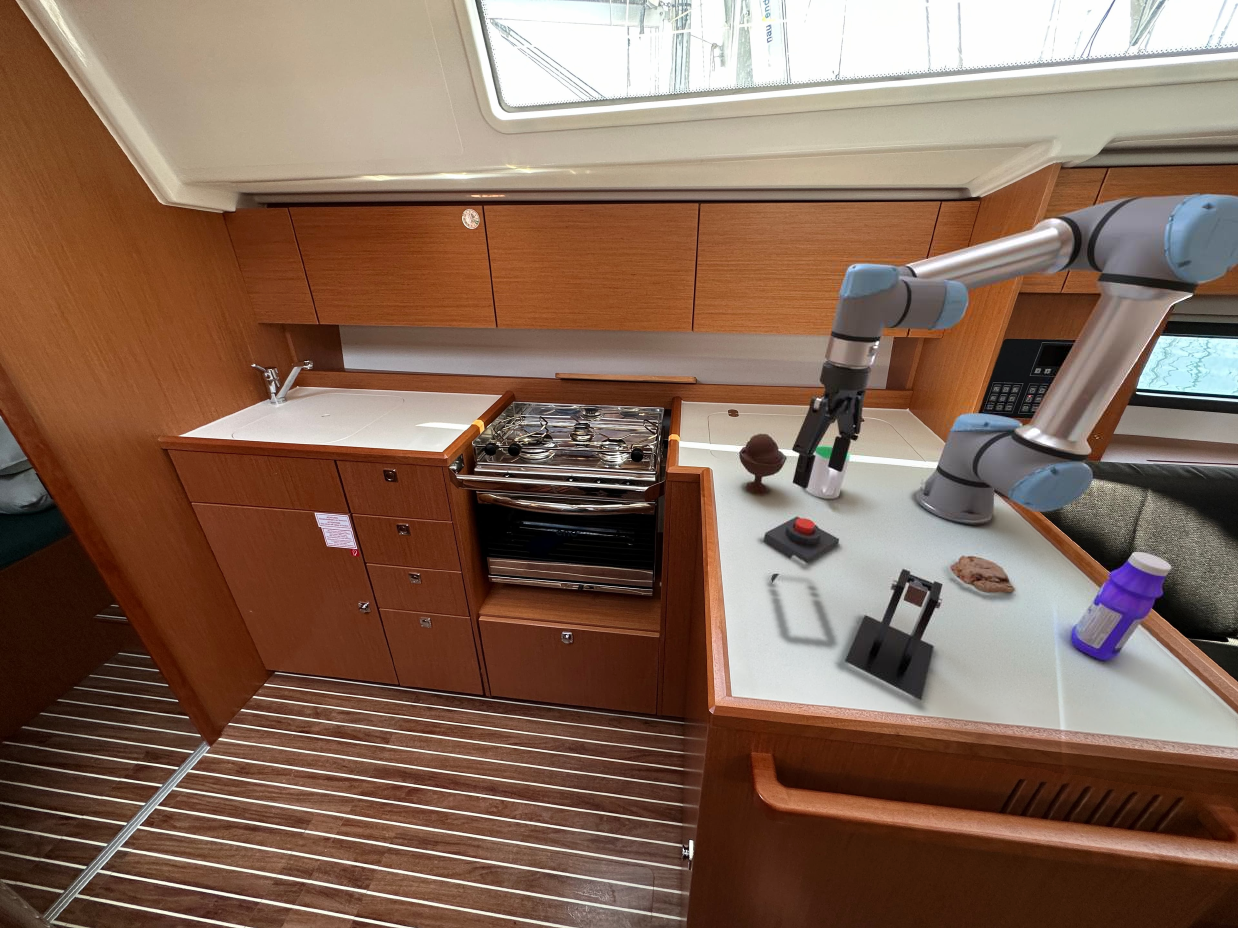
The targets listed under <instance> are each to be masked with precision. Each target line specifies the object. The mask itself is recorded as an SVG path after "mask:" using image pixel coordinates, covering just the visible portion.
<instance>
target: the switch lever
mask: <svg viewBox="0 0 1238 928" xmlns="http://www.w3.org/2000/svg"><path fill="white" fill-rule="evenodd" d="M901 572H902V570H901V571H900V573H899V576H898V578H899V577H900V574H901ZM933 583H934V582H932V581H930V580H927V579H924V578H922V577H919V576H916V575H914V574H911V573H910V574H909V577H908V580H907V583H906V584H908V585H907V588H906V590H905V593H904V596H903V601H905V602H906V603H909V604H912V605H914V606H916V607H919V608H923V605H924V603H925V600H926V598H927V594H928V592H930V590H931V588H932V585H933Z"/></svg>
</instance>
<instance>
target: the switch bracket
mask: <svg viewBox="0 0 1238 928" xmlns="http://www.w3.org/2000/svg"><path fill="white" fill-rule="evenodd" d="M901 571H902V572H901ZM901 571H900V573H901V574H900V573H899V576H900V577H899V576H898V579H897V580H896V579H893V581H892V583H891V586H890V590H892V591H893V592H892V594H891V597H890V599H889V602H888V605H887V607H886V609H885V612H884V615H883V617H882V620H881V621H880V620H877V619H876V618H874V617H871V616H869V615H868V614H864V616H863V618H862V621H861V623H860V625H859V628H858V630H857V633H856V634H855V637H854V639H853V641H852V643H851V646H850V648H849V651H848V653H847V655H846V657H845V659H844V662H846V663H848V664H849V665H852V666H853V667H855V668H858V669H859V670H861V671H863V672H865V673H867V674H868V675H871V676H872V677H875V678H877V679H879V680H881V681H883V682H885V683H887V684H888V685H891V686H892V687H895V688H896V689H898V690H900V691H902V692H905V693H906V694H908V695H910V696H912V697H914V698H915V699H918V700H920V701H922V698H923V695H924V690H925V686H926V681H927V677H928V672H929V667H930V663H931V658H932V655H933V651H934V645H933V644H931V643H928V642H926V641H924V640H922V638H923V636H924V634H925V631H926V629H927V627H928V625H929V622H930V621H931V619H932V617H933V615H934V612H935V610H936V609H940V607H941V604H942V602H943V598H940V597H941V594H942V593H941V592H942V589H943V583H941V582H938V581H936V580H934V581H933V582H932V583H933V585H932V588H931V590H930V592H929V591H928V592H929V593H927V594H928V595H927V596H926V598H925V600H924V602H923V605H922V607H921V610H920V613H919V615H918V617H917V620H916V621H915V624H914V626H913V628H912V630H911V633H910V634H909V633H906V632H905V631H902V630H899V629H897V628H896V627H893V626H891V623H892V620H893V617H894V616H895V613H896V611H897V608H898V605H899V603H900V601H901V598H902V596H903V594H904V590H905V588H906V586H907V584H908V583H907V580H908V577H909V574H911V571H910V570H907V569H905V568H902V570H901Z"/></svg>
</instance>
